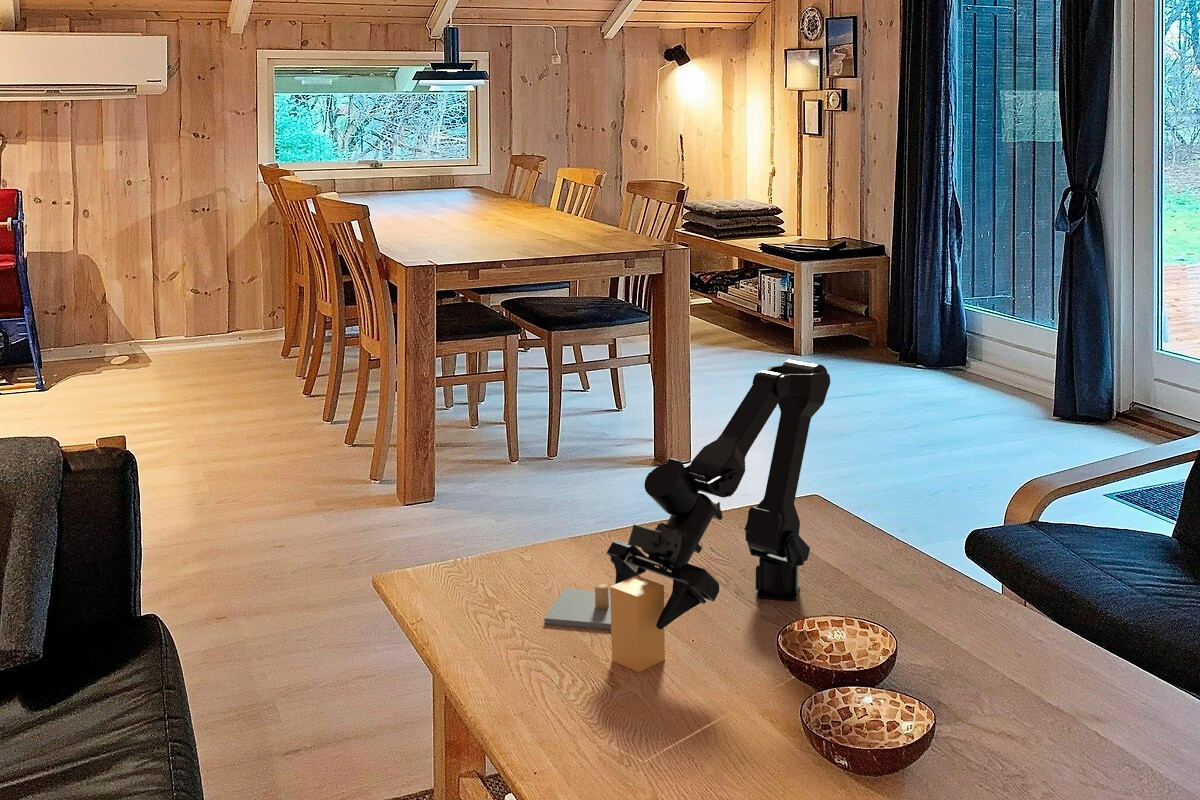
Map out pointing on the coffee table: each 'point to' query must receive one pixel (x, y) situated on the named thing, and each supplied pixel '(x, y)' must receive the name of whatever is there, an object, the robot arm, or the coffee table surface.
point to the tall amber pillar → (637, 623)
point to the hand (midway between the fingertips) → (635, 619)
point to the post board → (582, 608)
